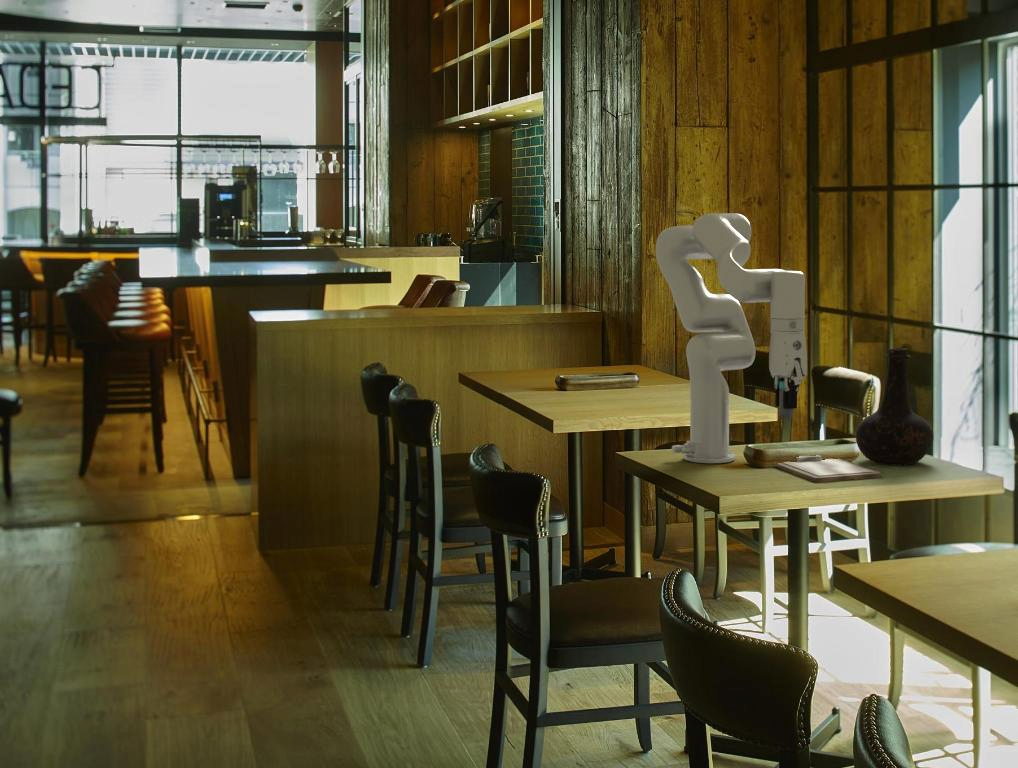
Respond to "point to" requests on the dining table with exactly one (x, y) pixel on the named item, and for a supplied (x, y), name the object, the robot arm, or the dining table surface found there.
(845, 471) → the writing board
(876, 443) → the glass bottle
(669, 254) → the robot arm
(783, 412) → the marker
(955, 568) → the dining table surface
